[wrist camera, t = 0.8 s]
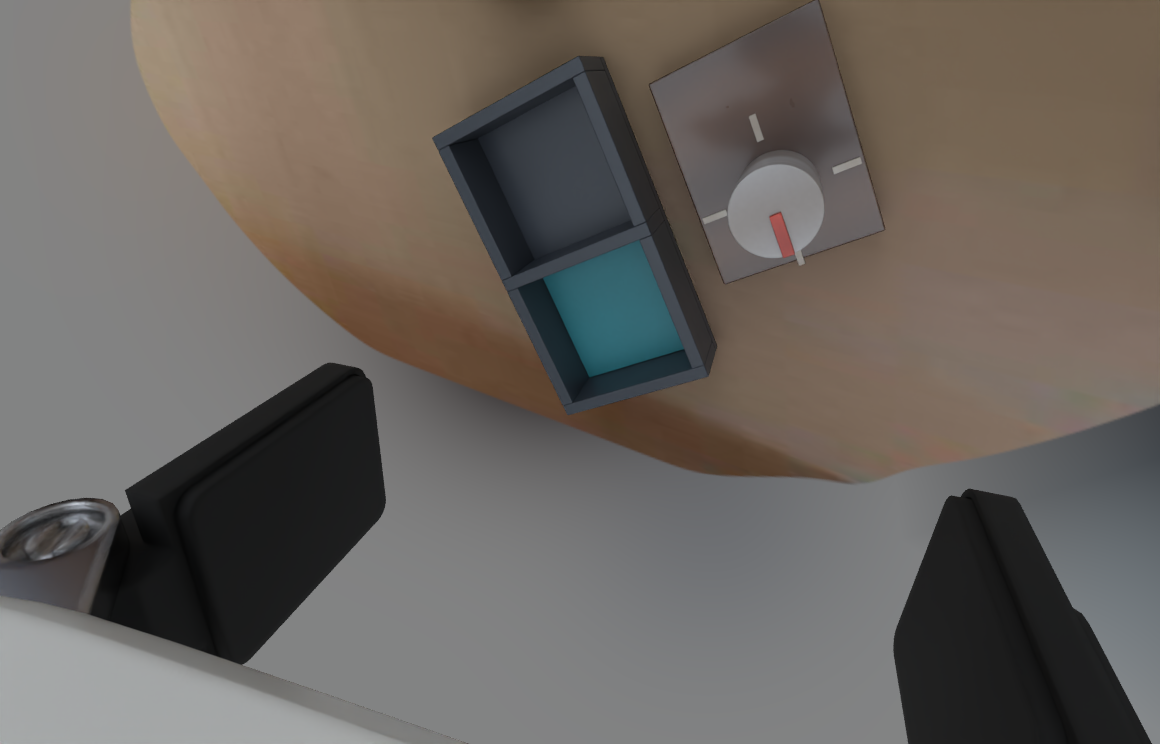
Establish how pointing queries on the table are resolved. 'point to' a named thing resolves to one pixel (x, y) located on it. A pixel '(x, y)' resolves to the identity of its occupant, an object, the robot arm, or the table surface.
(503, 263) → the compartment box
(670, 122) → the tap panel
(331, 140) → the table surface
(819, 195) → the tap knob
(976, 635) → the robot arm
